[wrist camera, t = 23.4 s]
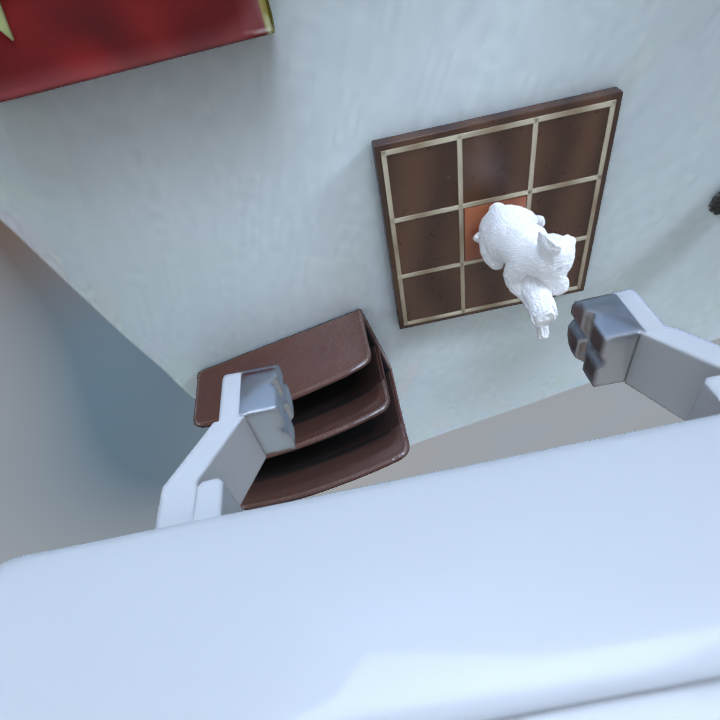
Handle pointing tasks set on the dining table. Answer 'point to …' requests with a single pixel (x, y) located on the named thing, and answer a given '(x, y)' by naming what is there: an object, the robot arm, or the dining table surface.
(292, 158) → the dining table surface
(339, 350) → the letter holder
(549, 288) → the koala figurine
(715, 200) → the eagle figurine
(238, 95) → the dining table surface
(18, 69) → the hardcover book
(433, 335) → the dining table surface
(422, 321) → the board
